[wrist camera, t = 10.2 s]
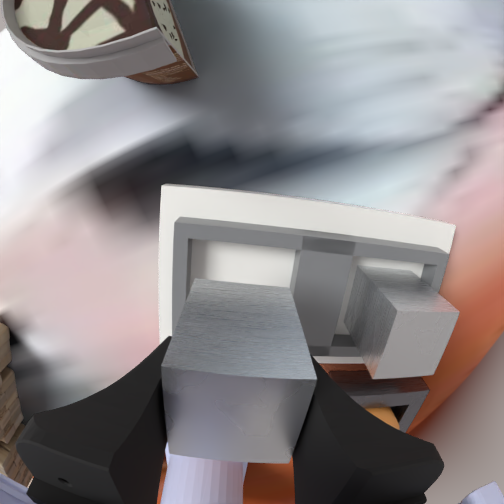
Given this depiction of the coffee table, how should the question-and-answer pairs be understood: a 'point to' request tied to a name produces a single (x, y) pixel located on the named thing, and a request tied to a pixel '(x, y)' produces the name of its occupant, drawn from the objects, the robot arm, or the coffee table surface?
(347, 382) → the button housing
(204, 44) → the coffee table surface
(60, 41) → the food container
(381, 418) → the button
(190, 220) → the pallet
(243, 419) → the billet
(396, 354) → the seated billet
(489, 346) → the coffee table surface
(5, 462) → the block tower
